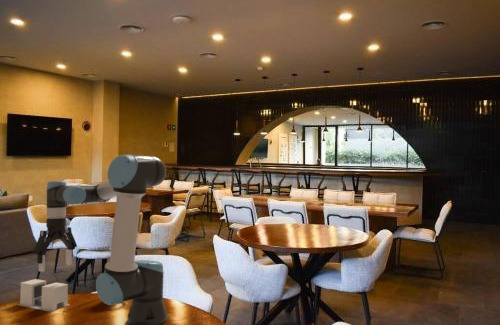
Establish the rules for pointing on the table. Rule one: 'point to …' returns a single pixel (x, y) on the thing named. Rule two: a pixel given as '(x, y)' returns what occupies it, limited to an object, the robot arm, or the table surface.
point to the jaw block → (54, 295)
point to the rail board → (39, 303)
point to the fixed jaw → (31, 291)
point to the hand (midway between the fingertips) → (55, 267)
